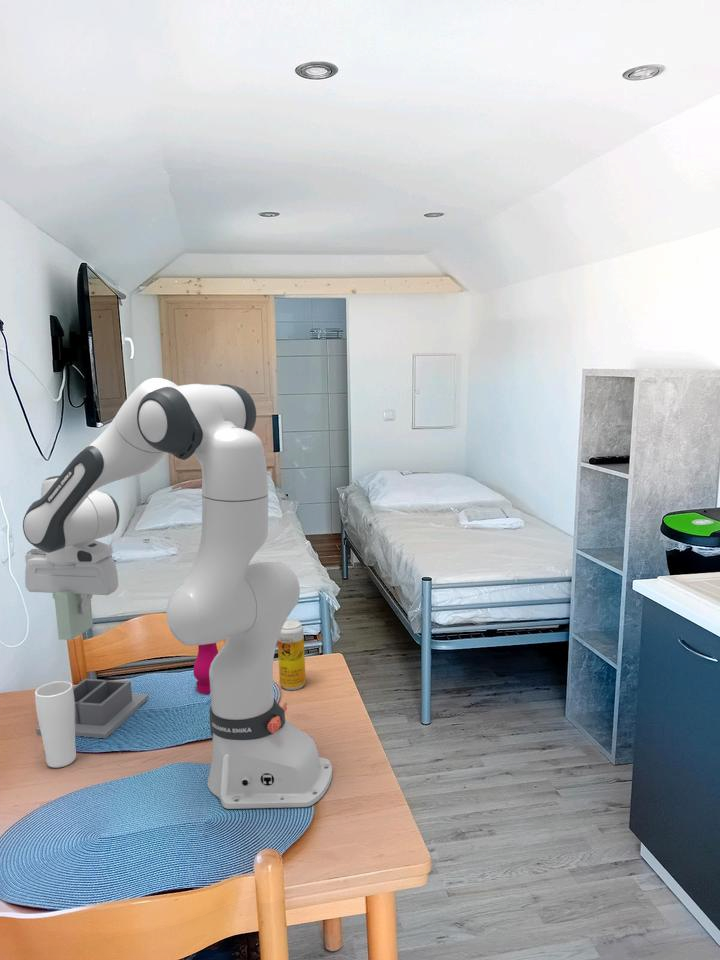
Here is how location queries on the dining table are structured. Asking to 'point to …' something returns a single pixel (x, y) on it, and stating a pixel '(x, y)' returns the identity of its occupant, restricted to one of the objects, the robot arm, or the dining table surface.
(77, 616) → the rectangular block
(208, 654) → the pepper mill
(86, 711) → the dish rack
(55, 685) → the drinking glass
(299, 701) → the dining table surface
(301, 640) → the beer can
